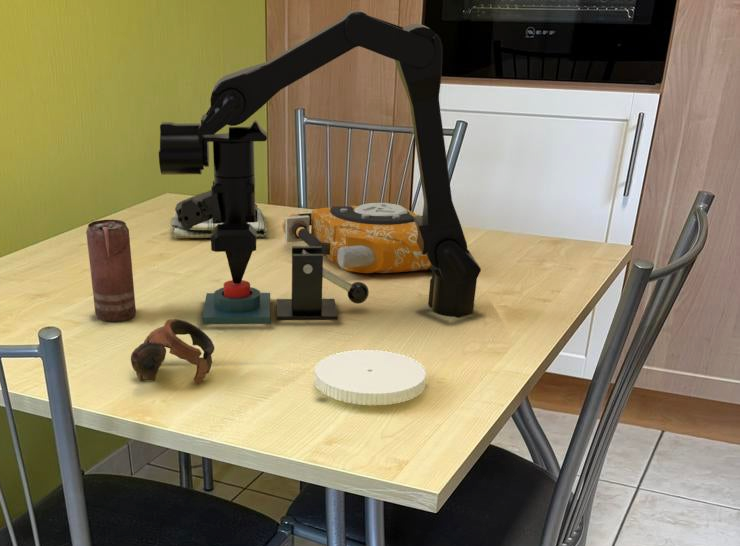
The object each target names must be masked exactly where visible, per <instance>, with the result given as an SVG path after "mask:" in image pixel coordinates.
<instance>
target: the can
mask: <svg viewBox="0 0 740 546" xmlns="http://www.w3.org/2000/svg"><path fill="white" fill-rule="evenodd" d="M85 232H86V243H87V251H88V260H89V267H90V268H89V269H90V278H91V287H92V296H93V305H94V314H95V316H96V318H97V319H98V320H99V321H101V322H105V323H121V322H122V323H123V322H127V321H129V320H132V319H133V318H134V317H135V315H136V313H137V309H136V297H135V287H134V284H135V283H134V273H133V263H132V261H133V260H132V251H131V239H130V229H129V228H128V226H127V223H126V222H125V221H124V220H119V219H101V220H96V221H92V222H89V223H88V225H87V229H86V230H85Z"/></svg>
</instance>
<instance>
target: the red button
mask: <svg viewBox="0 0 740 546" xmlns="http://www.w3.org/2000/svg"><path fill="white" fill-rule="evenodd" d="M250 287H251V283H250V282H249V281H248V280H245V279H242V281H241V283H239V284H235V283H233V280H232V279H231V280H228V281H225V282H224V283H223V288H224V296H225V297H229V298H244V297H248V296H250Z"/></svg>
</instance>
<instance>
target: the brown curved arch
mask: <svg viewBox="0 0 740 546" xmlns="http://www.w3.org/2000/svg"><path fill="white" fill-rule="evenodd" d="M177 335H180V336H181V335H182V336H185V335H190V337H191V338H190V339H191V341H192V345H190V344H188V343H187V342H185V341H184V340H182V339H181V338H180V337H178V336H177ZM194 346H198V347H199V348H197V347H194ZM166 348H168V349H169V354H171V355H173V356H175V357H177V358H178V359H180V360H185V361H186V362H188V363H190V364H192V365H195V366H196V372H195V375H194V377H193V381H194V383H196V384H202V383H203V382H204V379H205V378H206V377H207V374H209V373H210V371H211V369H212V365H213V358H212V355H213V353H214V352H215V345H214V343H213V341H212V339H211V337H209V335H207V334H206V332H204V331H203V330H201V329H200V328H199V327H198V326H196V325H194V324H193V323H190V322H189V321H186V320H182V319H178V318H174V319H173V318H171V319H167V320H166V321H165V322H164V325H162V326H160V327H158V328H155V329H154V330H151V332H149V334H148V335H147V336H146V338H145V339H144V341H143V342H142V343H141V344H139V346H137V347H136V348H134V350H133V351H132V353H131V355H130V363H131V367H132V370H133V371H134V372H135V374H136V376H137V378H138V380H139V381H143V379H144V380H145V381H148V382H155V381H156V380H157V376H158V375H157V374H158V373H159V369H160V367H161V366H162V364H163V362H164V361H165V359H166V355H167V349H166ZM201 350H202V351H203V353H202V352H201ZM201 355H202V357H200V356H201Z"/></svg>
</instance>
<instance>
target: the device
mask: <svg viewBox="0 0 740 546" xmlns="http://www.w3.org/2000/svg"><path fill="white" fill-rule="evenodd" d="M414 216H422V215H421V214H416V213H415V212H413V211H411V210H409V209H407V208H405V207H404V206H402V205H401V204H397V203H389V202H370V203H363V204H360V205H358V206H357V205H345V206H344V205H343V206H342V205H341V206H340V205H339V206H333V205H332V206H331V207H322V208H312V210H311V212H309V213H308V212H307V213H290V214H288V215H286V216H285V217H284V218H283V220H282V223H281V226H282V231H283V233H284V241H285V242H286V243H296V242H304V243H305V244H307V246H322V254H323V256H325V257H327V258H328V259H329V260H330V261H332V263H334V264H338V266H339V267H340V268H341V269H344V270H345V271H348V272H352V273H353V272H355V273H362V274H373V273H375V274H391V273H407V272H416V271H417V272H418V271H430V272H431V273H432V271H433V270H437V269H438V268H436V267H434V266H433V265H432V264H431V263H430V261H429V259H428V257H427V255H426V254H425V255H423V254H422V252H421V250H420V248H419V246H418V244H417V237H418V230H417V227H416V224H415V221H414V218H413V217H414Z"/></svg>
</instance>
